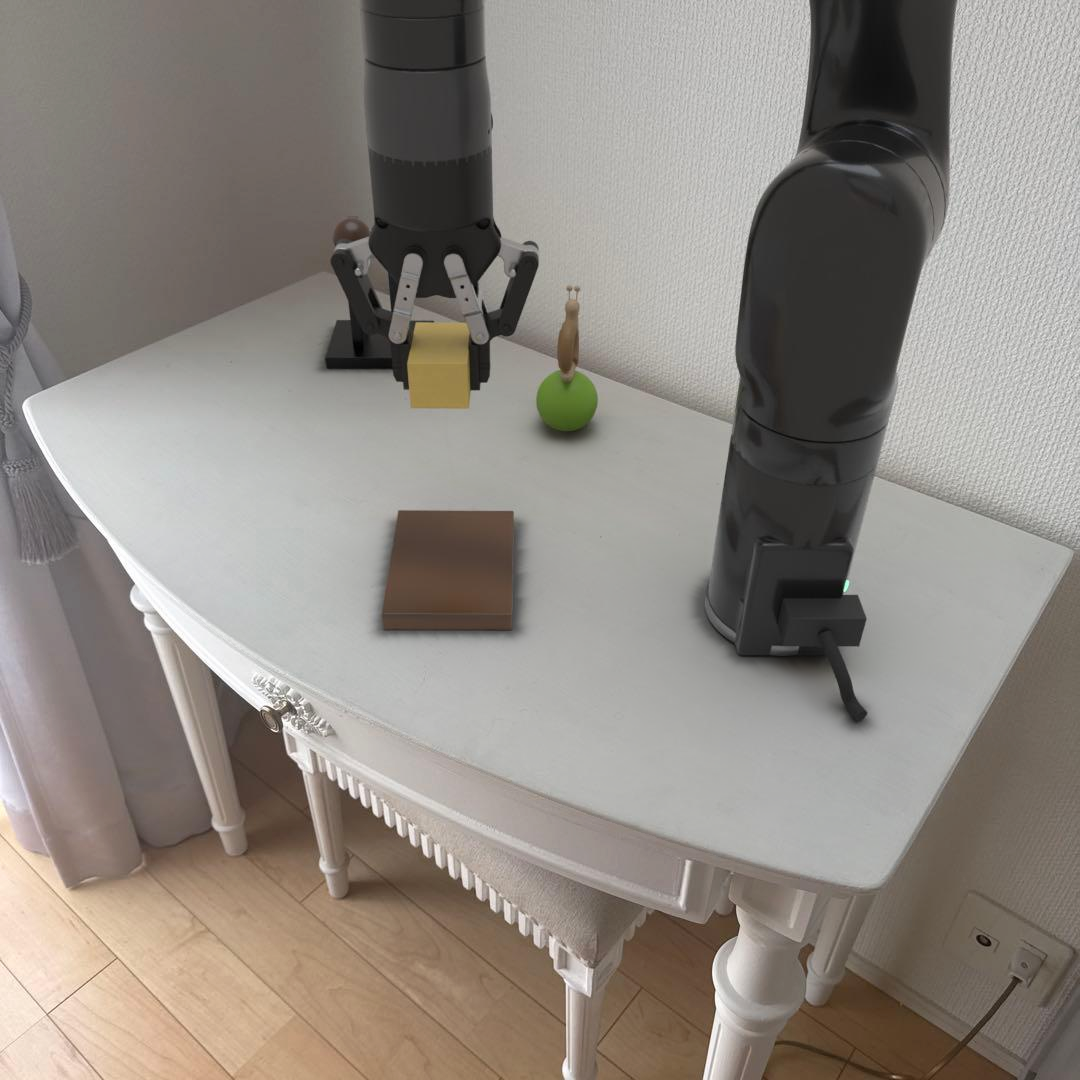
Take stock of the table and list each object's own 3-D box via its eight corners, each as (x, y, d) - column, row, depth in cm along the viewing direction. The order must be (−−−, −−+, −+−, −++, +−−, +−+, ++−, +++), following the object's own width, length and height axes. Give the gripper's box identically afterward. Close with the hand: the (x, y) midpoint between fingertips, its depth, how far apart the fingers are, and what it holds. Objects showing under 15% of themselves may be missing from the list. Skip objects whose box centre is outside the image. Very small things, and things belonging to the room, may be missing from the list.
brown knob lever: (369, 257, 85) (368, 216, 85) (330, 256, 85) (328, 215, 85) (392, 262, 100) (391, 227, 99) (358, 261, 100) (357, 226, 99)
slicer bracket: (429, 369, 102) (421, 242, 94) (326, 368, 102) (310, 242, 94) (434, 331, 108) (428, 209, 100) (338, 330, 108) (323, 208, 100)
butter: (469, 409, 72) (467, 363, 69) (410, 408, 72) (407, 363, 69) (473, 366, 76) (472, 322, 74) (418, 365, 76) (415, 322, 74)
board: (512, 630, 73) (512, 614, 72) (382, 629, 73) (381, 613, 72) (513, 525, 82) (513, 510, 82) (399, 525, 82) (398, 509, 81)
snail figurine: (598, 407, 97) (605, 285, 89) (594, 444, 92) (601, 319, 84) (540, 403, 97) (542, 282, 90) (532, 440, 92) (534, 315, 85)
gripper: (300, 155, 60) (334, 411, 71) (547, 157, 60) (544, 413, 71) (322, 116, 66) (350, 358, 77) (546, 118, 66) (543, 360, 77)
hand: (443, 383), depth 74 cm, fingers closed on butter, 4 cm apart
